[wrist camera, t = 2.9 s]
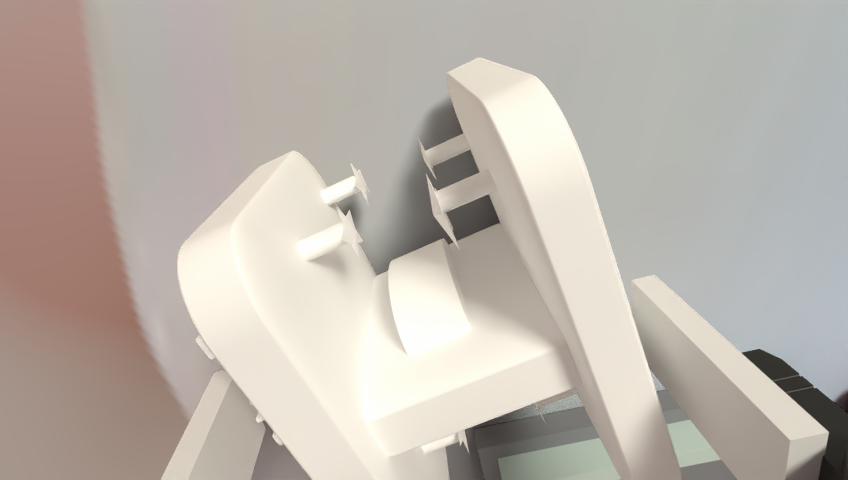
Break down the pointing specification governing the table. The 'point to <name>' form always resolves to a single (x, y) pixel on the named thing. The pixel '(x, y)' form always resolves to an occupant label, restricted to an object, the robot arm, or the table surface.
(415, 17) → the table surface
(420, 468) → the cable organizer
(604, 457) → the grey green tray
